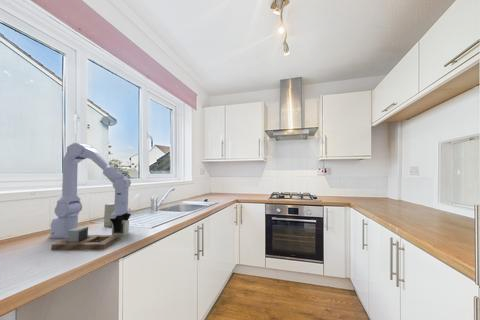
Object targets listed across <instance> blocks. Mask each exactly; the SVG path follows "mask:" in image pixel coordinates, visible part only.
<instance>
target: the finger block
mask: <svg viewBox="0 0 480 320" xmlns="http://www.w3.org/2000/svg"><path fill="white" fill-rule="evenodd" d="M129 222H130V220H129V219H128V220H123V221H122V224H121V230H120V232H115V230H114V226H113V224H112V226H111V235H121V237H123V236H124V237H125V236H127V235H128V234H129V231H130V229H129V228H130V227H129V225H130V223H129Z"/></svg>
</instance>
